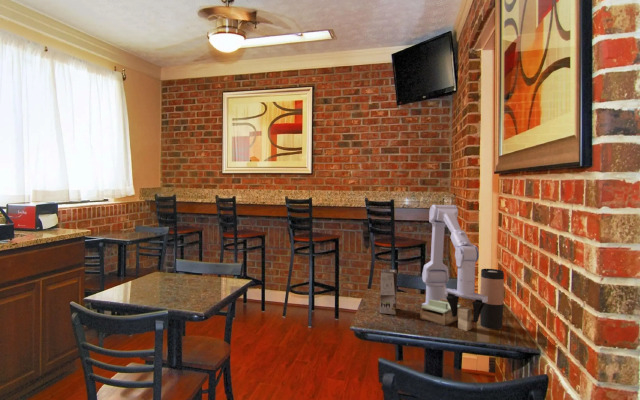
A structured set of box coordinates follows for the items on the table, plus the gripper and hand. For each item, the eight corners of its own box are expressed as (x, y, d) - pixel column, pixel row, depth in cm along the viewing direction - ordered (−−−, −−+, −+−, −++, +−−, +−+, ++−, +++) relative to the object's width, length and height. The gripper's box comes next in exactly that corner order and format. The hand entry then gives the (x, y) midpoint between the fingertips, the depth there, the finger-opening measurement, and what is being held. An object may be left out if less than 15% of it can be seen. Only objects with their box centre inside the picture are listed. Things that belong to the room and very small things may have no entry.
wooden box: (439, 311, 151) (439, 298, 151) (462, 318, 144) (463, 303, 144) (420, 318, 142) (420, 304, 142) (444, 325, 134) (445, 310, 134)
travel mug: (474, 323, 137) (476, 269, 137) (490, 321, 140) (491, 268, 140) (491, 330, 130) (493, 273, 130) (507, 328, 133) (509, 271, 133)
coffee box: (396, 314, 146) (397, 273, 146) (379, 313, 147) (380, 272, 147) (396, 308, 155) (397, 269, 155) (380, 307, 156) (381, 268, 156)
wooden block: (462, 326, 134) (462, 306, 134) (471, 328, 132) (471, 308, 132) (457, 328, 132) (458, 308, 132) (466, 330, 129) (467, 310, 129)
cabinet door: (438, 301, 150) (438, 295, 150) (460, 307, 143) (461, 300, 143) (421, 307, 141) (421, 300, 141) (444, 313, 135) (444, 306, 135)
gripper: (441, 277, 134) (440, 315, 134) (481, 285, 124) (480, 326, 124) (450, 275, 139) (449, 312, 139) (490, 282, 129) (489, 322, 129)
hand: (465, 318), depth 132 cm, fingers open, 7 cm apart
